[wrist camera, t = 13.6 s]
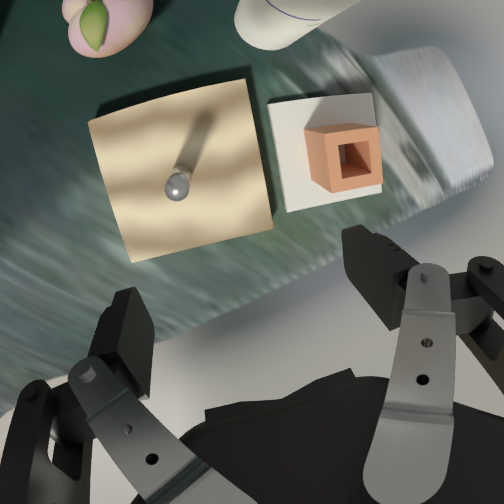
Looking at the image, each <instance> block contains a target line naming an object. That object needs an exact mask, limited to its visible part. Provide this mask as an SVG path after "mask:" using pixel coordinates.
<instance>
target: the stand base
mask: <svg viewBox="0 0 504 504" xmlns="http://www.w3.org/2000/svg"><path fill="white" fill-rule="evenodd" d="M88 125H89V129H90V133H91V137H92V141H93V145H94V148H95V152H96V156H97V159H98V163H99V166H100V170H101V173H102V177H103V180H104V183H105V187H106V190H107V193H108V196H109V199H110V202H111V206H112V209H113V212H114V215H115V218H116V221H117V224H118V226H119V229H120V232H121V235H122V238H123V241H124V243H125V246H126V249H127V252H128V254H129V257H130V260H131V262H132V263H134V262H138V261H142V260H146V259H150V258H154V257H158V256H162V255H166V254H170V253H174V252H178V251H182V250H186V249H190V248H194V247H198V246H202V245H206V244H211V243H215V242H219V241H223V240H227V239H231V238H236V237H240V236H244V235H248V234H252V233H257V232H261V231H265V230H270V229H274V228H273V222H272V216H271V211H270V205H269V200H268V194H267V189H266V183H265V178H264V173H263V167H262V162H261V157H260V151H259V146H258V141H257V136H256V131H255V126H254V120H253V115H252V110H251V105H250V100H249V95H248V91H247V86H246V81H245V79H241V80H235V81H230V82H225V83H220V84H215V85H210V86H206V87H201V88H197V89H192V90H188V91H184V92H180V93H176V94H173V95H169V96H165V97H161V98H158V99H154V100H151V101H148V102H144V103H141V104H138V105H134V106H131V107H128V108H125V109H122V110H119V111H116V112H113V113H110V114H107V115H105V116H102V117H99V118H96V119H94V120H91V121H88ZM179 164H184V165H187V166H188V167H189V168H190V169H191V173H192V175H191V181H190V188H189V193H188V195H187V197H186V198H185V199H183V200H182V201H172V200H170V199H169V198H168V197H167V196H166V194H165V191H164V188H165V184H166V182H167V180H168V178H169V176H170V174H171V172H172V170H173V168H174V167H175V166H177V165H179Z"/></svg>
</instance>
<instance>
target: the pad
mask: <svg viewBox="0 0 504 504" xmlns="http://www.w3.org/2000/svg"><path fill="white" fill-rule="evenodd" d="M267 107H268V113H269V118H270V123H271V129H272V134H273V139H274V145H275V150H276V156H277V162H278V168H279V173H280V179H281V185H282V191H283V197H284V203H285V209H286V211H287V212H292V211H296V210H301V209H305V208H310V207H314V206H319V205H323V204H328V203H333V202H337V201H342V200H347V199H352V198H357V197H361V196H366V195H371V194H376V193H381V192H382V188H381V184H377V185H372V186H367V187H361V188H356V189H352V190H347V191H342V192H337V193H332V194H331V193H330V192H329V191H327V190H326V189H324V188H323V187H321V186H320V185H318V184H317V183H316V182H314V181H313V180H311V175H310V168H309V162H308V155H307V149H306V142H305V136H304V130H303V129H309V128H316V127H323V126H330V125H337V124H345V123H356V124H363V125H369V126H376V120H375V112H374V104H373V97H372V93H359V94H346V95H335V96H325V97H316V98H308V99H300V100H293V101H286V102H279V103H273V104H267ZM338 149H339V157H340V163H345V162H346V156H345V148H344V144H342V145H338Z"/></svg>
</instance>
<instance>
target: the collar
mask: <svg viewBox="0 0 504 504" xmlns="http://www.w3.org/2000/svg"><path fill="white" fill-rule="evenodd" d="M303 130H304V136H305V142H306V149H307V155H308V162H309V168H310V175H311V180H313V181H314V182H316V183H317V184H318V185H320V186H321V187H323V188H324V189H326V190H327V191H329V192H330V193H331V194H332V193H337V192H342V191H347V190H352V189H356V188H361V187H367V186H372V185H377V184H382V183H383V175H382V162H381V150H380V140H379V131H378V127H376V126H369V125H363V124H356V123H345V124H337V125H330V126H323V127H316V128H309V129H303ZM342 144H344V148H345V156H346V162H345V163H340V157H339V149H338V145H342Z"/></svg>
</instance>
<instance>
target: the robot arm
mask: <svg viewBox="0 0 504 504" xmlns="http://www.w3.org/2000/svg"><path fill="white" fill-rule="evenodd" d="M342 246H343V258H344V267H345V271H346V274H347V277H348V278H349V280H350V281H351V283H352V284H353V285H354V286H355V288H356V289H357V290H358V291H359V292H360V293H361V295H362V296H363V298H364V299H365V300H366V301H367V303H368V304H369V305H370V306H371V308H372V309H373V310H374V312H375V313H376V314H377V315H378V317H379V318H380V319H381V320H382V322H383V323H384V324H385V326H386V327H387V328H388V329H389V331H391V330H394V329H396V328H398V327H400V331H399V336H398V341H397V347H396V352H395V357H394V362H393V367H392V372H391V376H390V379H388V378H383V377H375V376H364V377H355V375H354V374H353V372H352V370H351V368H348V369H346V370H343V371H340V372H337V373H334V374H332V375H329V376H326V377H323V378H320V379H317V380H315V381H313V382H312V383H310V384H308V385H306V386H304V387H302V388H301V389H299V390H297V391H295V392H293V393H292V394H290V395H288V396H286V397H284V398H282V399H277V400H264V401H244V402H237V403H233V404H229V405H224V406H221V407H216V408H211V409H206V410H205V420H206V421H204V422H202V423H200V424H198V425H196V426H194V427H193V428H191V429H190V430H189V431H187V432H186V433H185V434H184V435H183V436H181V437H180V438H179V439H177V438H176V437H175V436H174V435H173V434H172V433H171V432H170V431H169V430H168V429H167V428H166V427H165V426H164V425H163V424H162V423H161V422H160V421H159V420H158V419H157V418H156V417H155V416H154V415H153V414H152V413H151V412H150V411H149V410H148V409H147V408H146V407H145V406H144V405H143V404H142V403H141V402H140V400H145V399H149V396H150V381H151V368H152V357H153V346H154V336H155V331H154V325H153V322H152V319H151V317H150V315H149V313H148V311H147V309H146V307H145V305H144V303H143V300H142V298H141V296H140V294H139V292H138V290H137V289H136V288H135V287H131V288H127V289H124V290H120V291H117V292H116V293H115V296H114V299H113V302H112V305H111V306H110V307H107V308H106V310H105V311H104V312H103V313H102V315H101V316H100V318H99V321H98V324H97V327H96V331H95V335H94V337H93V340H92V343H91V346H90V350H89V353H88V356H87V358H85V359H82V360H81V361H79V362H78V363H76V364H75V365H74V366H73V368H72V369H71V370H70V372H69V375H68V382H66V383H63V384H61V385H59V386H57V387H55V388H52V389H51V388H50V386H49V385H48V384H47V383H46V382H45V381H44V380H35V381H32V382H31V383H29V384H28V385H27V386H25V387H24V389H23V390H22V391H21V393H20V395H19V397H18V400H17V404H16V407H15V410H14V413H13V417H12V420H11V424H10V427H9V431H8V435H7V438H6V442H5V447H4V450H3V455H2V459H1V464H0V504H90V474H91V458H92V444H93V439H95V438H98V439H99V441H100V442H101V444H102V445H103V447H104V448H105V449H106V451H107V452H108V454H109V455H110V457H111V458H112V459H113V461H114V462H115V464H116V465H117V466H118V468H119V469H120V470H121V472H122V473H123V474H124V476H125V477H126V478H127V479H128V481H129V482H130V483H131V484H132V486H133V487H134V488H135V489H136V490H137V492H138V494H137V496H136V497H135V498H134V500H133V501H132V502H131V504H504V417H500V416H497V415H493V414H491V413H487V412H484V411H481V410H478V409H475V408H472V407H469V406H465V405H463V404H459V403H457V402H454V401H453V397H454V382H455V360H456V358H455V357H456V335H458V336H459V337H460V338H461V339H462V341H463V342H464V343H465V344H466V346H467V347H468V348H469V349H470V351H471V352H472V353H473V354H474V356H475V357H476V358H477V360H478V361H479V362H480V363H481V365H482V366H483V367H484V369H485V370H486V371H487V373H488V374H489V375H490V377H491V378H492V379H493V381H494V382H495V383H496V385H497V386H498V387H499V389H500V390H501V392H502V393H503V394H504V330H503V329H502V328H501V327H500V326H499V325H498V324H497V323H496V322H495V321H494V320H493V319H492V317H493V313H494V310H495V311H496V312H497V313H498V314H499V315H500V316H501V317H502V318H503V320H504V265H503V264H501V263H500V262H499V261H497V260H496V259H493V258H491V257H486V256H478V257H474V258H472V259H471V260H470V261H469V262H468V267H467V272H462V273H455V274H448V272H447V270H445V269H444V268H443V267H441V266H439V265H436V264H432V263H422V264H420V263H419V262H417V261H416V260H415V259H414V258H413V257H411V256H410V255H409V254H408V253H407V252H405V251H404V250H403V249H401V248H400V247H399V246H398V245H397V244H396V245H395V243H394V242H393V241H392V240H391V239H389V238H388V237H386V236H383V235H381V234H378V233H374V234H373V233H371V232H370V231H369V230H368V229H366V228H365V227H364V226H363V225H361V224H360V225H356V226H353V227H349V228H346V229H343V230H342ZM50 437H51V438H52V439H53V440H54V441H55V446H54V452H53V459H52V463H51V461H50V459H49V457H48V452H47V450H48V444H49V438H50Z"/></svg>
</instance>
